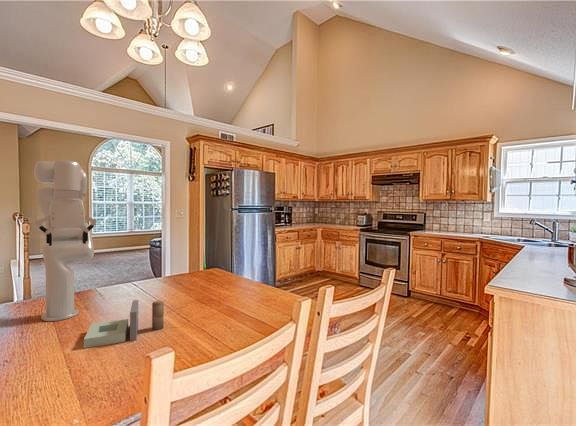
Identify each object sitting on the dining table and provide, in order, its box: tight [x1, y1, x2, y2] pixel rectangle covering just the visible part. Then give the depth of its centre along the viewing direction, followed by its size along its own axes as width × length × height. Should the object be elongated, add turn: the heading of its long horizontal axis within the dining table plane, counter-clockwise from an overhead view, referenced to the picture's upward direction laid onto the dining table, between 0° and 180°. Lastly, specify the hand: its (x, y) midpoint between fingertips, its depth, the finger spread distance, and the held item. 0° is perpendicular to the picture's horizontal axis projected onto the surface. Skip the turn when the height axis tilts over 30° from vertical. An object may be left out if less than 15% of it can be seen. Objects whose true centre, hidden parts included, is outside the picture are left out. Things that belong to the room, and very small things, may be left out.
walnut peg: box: [151, 300, 165, 331], centre depth 114 cm, size 4×4×10 cm
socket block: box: [83, 318, 129, 349], centre depth 106 cm, size 14×12×3 cm
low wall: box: [129, 299, 139, 342], centre depth 110 cm, size 14×2×10 cm, turn 24°
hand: (67, 244), depth 104 cm, fingers open, 9 cm apart
